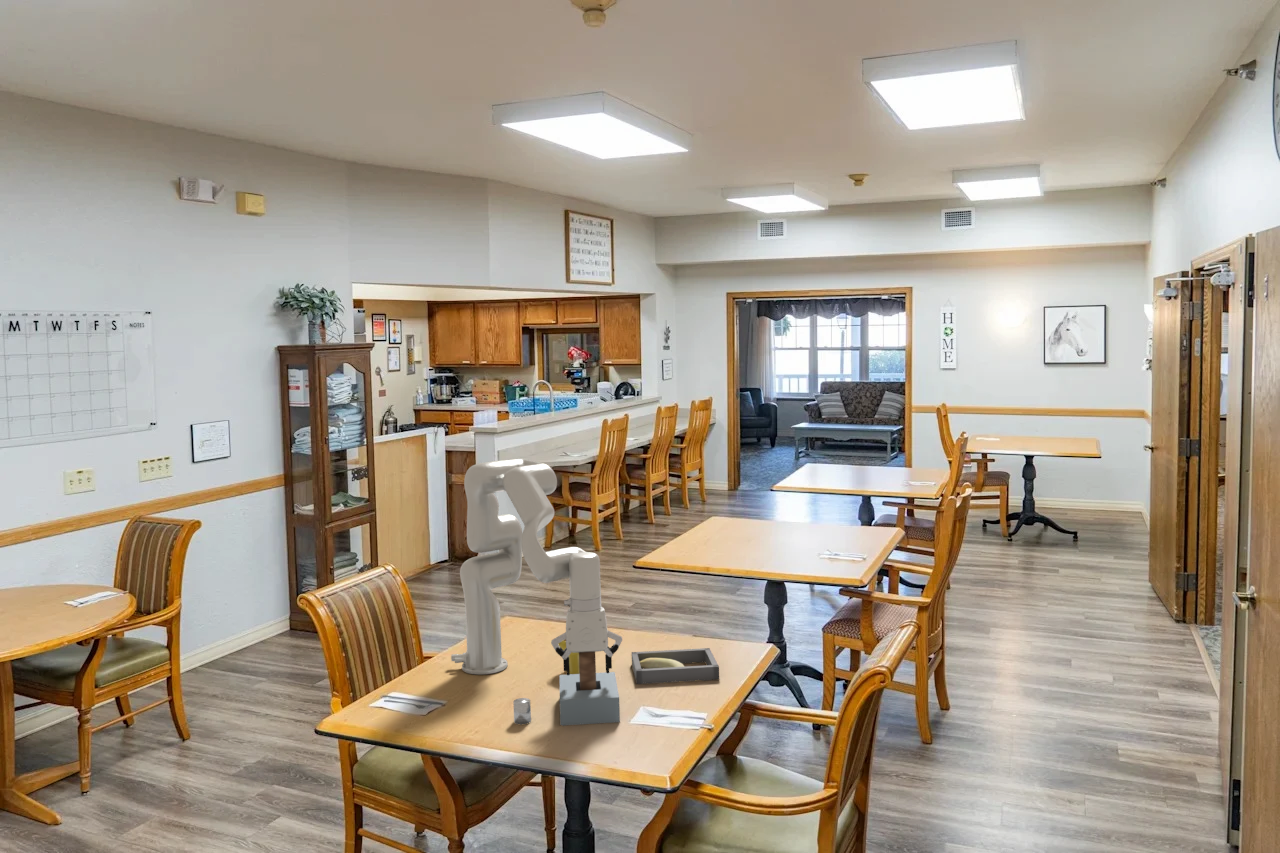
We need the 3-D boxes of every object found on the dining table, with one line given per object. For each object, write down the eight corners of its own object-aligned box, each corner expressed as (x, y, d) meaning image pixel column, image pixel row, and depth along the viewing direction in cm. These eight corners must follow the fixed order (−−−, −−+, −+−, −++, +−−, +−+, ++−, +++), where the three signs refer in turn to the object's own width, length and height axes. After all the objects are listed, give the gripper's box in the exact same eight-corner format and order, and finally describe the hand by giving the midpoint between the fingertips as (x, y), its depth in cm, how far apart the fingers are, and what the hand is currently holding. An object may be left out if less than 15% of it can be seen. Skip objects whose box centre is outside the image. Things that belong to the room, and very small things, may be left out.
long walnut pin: (580, 713, 230) (578, 652, 229) (580, 707, 234) (578, 647, 233) (597, 712, 231) (595, 651, 230) (596, 706, 235) (594, 646, 234)
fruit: (655, 664, 267) (655, 652, 266) (695, 676, 256) (695, 664, 256) (637, 670, 262) (637, 658, 261) (677, 683, 251) (676, 670, 251)
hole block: (560, 725, 223) (559, 700, 223) (560, 698, 241) (559, 674, 240) (619, 722, 224) (619, 697, 224) (615, 694, 242) (614, 671, 242)
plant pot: (583, 679, 254) (582, 643, 253) (552, 674, 259) (550, 638, 259) (604, 668, 263) (603, 633, 262) (573, 662, 268) (572, 628, 268)
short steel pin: (513, 725, 224) (513, 704, 224) (514, 718, 228) (513, 698, 228) (530, 724, 224) (530, 703, 224) (531, 717, 228) (530, 697, 228)
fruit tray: (636, 684, 250) (636, 671, 249) (631, 664, 265) (631, 652, 265) (719, 679, 251) (719, 666, 251) (709, 660, 267) (709, 648, 267)
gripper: (549, 609, 226) (552, 679, 227) (622, 606, 228) (624, 675, 229) (550, 601, 234) (552, 669, 235) (620, 598, 235) (622, 665, 236)
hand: (587, 672), depth 232 cm, fingers open, 9 cm apart
